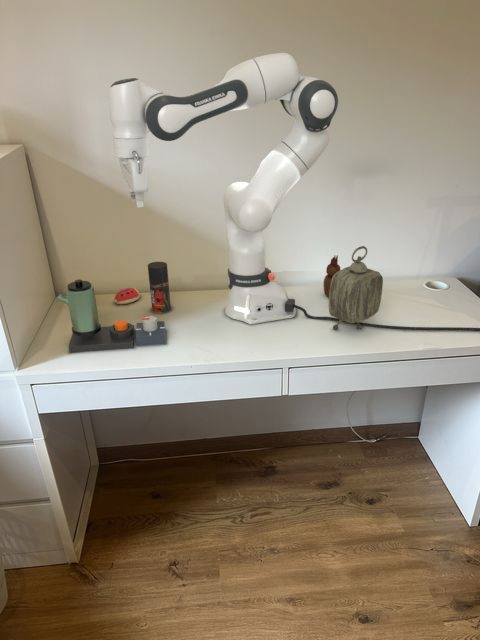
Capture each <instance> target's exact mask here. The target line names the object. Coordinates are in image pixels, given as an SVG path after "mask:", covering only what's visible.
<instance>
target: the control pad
mask: <svg viewBox="0 0 480 640" xmlns="http://www.w3.org/2000/svg"><path fill="white" fill-rule="evenodd" d="M135 327H136V328H135V344H136V347H147V346H159V345H166V344H167V341H166V323H165V320H159V321H158V320H157V330H155V331H152V332H147V331H144V330H143V322H136V326H135Z"/></svg>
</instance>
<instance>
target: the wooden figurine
mask: <svg viewBox="0 0 480 640" xmlns="http://www.w3.org/2000/svg"><path fill="white" fill-rule="evenodd" d="M338 256H339V255H338V254H337V255H335V254H334V256H333V257H332V258H331V259H330V263H328V264H327V266H326V271H325V273H326V275H325V276H324V278H323V291H324V292H323V293H324V296H326V297H327V298H329V292H330V285H331V280H332V277H333V275H334V274H335V273H337V272H338V271H340V270H341V265H340V264H338V262H339V261H338V259H339V257H338Z"/></svg>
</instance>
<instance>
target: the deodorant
mask: <svg viewBox="0 0 480 640" xmlns="http://www.w3.org/2000/svg"><path fill="white" fill-rule="evenodd" d="M147 273H148V274H147V275H148V282H149V283H148V284H149V292H150V293H149V294H150V302H151V311H152V313H156V314H165V313H168V312H170V311H171V310H172V307H171V305H172V304H171V293H170V282H169V272H168V264H167V262H165V261H153V262H149V263H148V264H147Z"/></svg>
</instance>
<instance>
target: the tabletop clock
mask: <svg viewBox="0 0 480 640" xmlns="http://www.w3.org/2000/svg"><path fill="white" fill-rule="evenodd" d="M359 250H365V253H364V255H363V256H361V255H359V256H357V258H356V259H354V256H355V254H356V253H357V252H358V251H359ZM367 255H368V248H367V247H366V246H365V245H361V246H359V247H357V248H356V249H354V251H353V252H352V254H351V261H352V262H353V263H351V264H350V265H349V266H346V267H344V268H342V269H340V271H338V272H337V273H335V274H334V275H333V277H332V280H331V285H330V292H329V297H328V314H329V316H330V317H333V318H338V319H340V320H339V321H337V323H336V324H333V326H332V329H333V330H335V331H336V330H338V328H339V326H340V324H341V323H343V322H342V321H346V322H348V323H347V324H350V323H357V322H358V325H355V326H356V327H355V328H356V329H357V330H360V331H361V329H362V328H363V326H362V325H360V322H363V321H366V320H368V319H369V318H371V317H374V316H375V315H376V314H377V313H379V310H380V306H381V303H382V302H381V301H382V295H383V285H384V279H383V275H382V274H381V272H379V271H378V270H374V269H370V268H368V267H367V265H366V264H365V263H364V262H363V260H364V259H365V258H366V257H367Z"/></svg>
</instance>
